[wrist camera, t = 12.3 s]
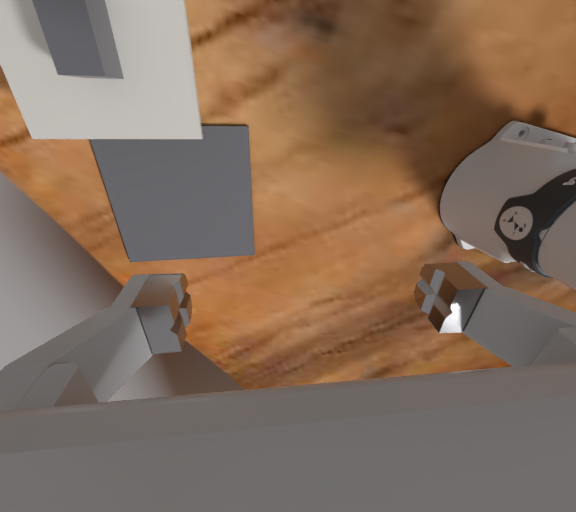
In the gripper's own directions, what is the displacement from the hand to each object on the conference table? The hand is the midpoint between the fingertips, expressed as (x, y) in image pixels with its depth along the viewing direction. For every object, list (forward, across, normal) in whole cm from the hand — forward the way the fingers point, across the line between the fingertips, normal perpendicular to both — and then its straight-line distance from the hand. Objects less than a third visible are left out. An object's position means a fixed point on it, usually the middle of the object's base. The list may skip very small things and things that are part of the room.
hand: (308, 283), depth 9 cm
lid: (+21, +14, -9) cm, 26 cm away
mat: (+27, +11, +6) cm, 30 cm away
